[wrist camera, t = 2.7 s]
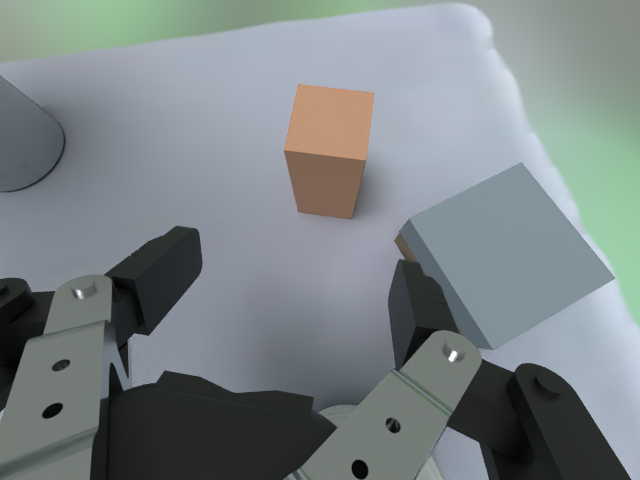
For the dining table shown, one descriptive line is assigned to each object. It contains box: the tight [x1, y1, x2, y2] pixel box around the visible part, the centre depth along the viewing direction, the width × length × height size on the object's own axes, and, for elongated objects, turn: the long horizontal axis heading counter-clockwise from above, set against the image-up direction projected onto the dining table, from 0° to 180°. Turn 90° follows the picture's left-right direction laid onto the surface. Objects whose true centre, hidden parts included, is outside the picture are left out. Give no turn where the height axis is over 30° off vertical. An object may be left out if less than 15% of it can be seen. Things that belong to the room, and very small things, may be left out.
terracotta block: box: [284, 84, 374, 219], centre depth 23 cm, size 5×5×10 cm
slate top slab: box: [399, 162, 615, 350], centre depth 22 cm, size 10×10×3 cm
